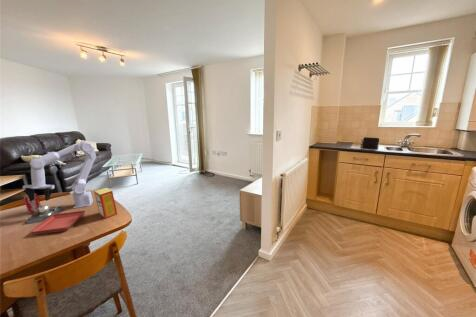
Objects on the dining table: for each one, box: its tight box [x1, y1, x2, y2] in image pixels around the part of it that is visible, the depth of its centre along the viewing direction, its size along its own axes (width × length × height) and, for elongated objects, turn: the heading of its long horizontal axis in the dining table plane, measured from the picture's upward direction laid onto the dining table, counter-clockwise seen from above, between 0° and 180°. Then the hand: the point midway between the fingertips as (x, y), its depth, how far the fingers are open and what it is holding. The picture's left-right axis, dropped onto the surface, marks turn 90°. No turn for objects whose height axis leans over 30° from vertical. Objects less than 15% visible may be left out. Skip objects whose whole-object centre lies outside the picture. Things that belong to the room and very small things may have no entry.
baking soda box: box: [94, 187, 118, 220], centre depth 119 cm, size 10×6×16 cm
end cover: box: [38, 204, 53, 217], centre depth 120 cm, size 7×7×7 cm
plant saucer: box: [29, 210, 86, 235], centre depth 111 cm, size 18×18×3 cm
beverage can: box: [23, 192, 42, 214], centre depth 125 cm, size 6×6×12 cm
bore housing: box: [26, 205, 64, 225], centre depth 120 cm, size 12×12×3 cm
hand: (40, 200), depth 118 cm, fingers open, 7 cm apart
